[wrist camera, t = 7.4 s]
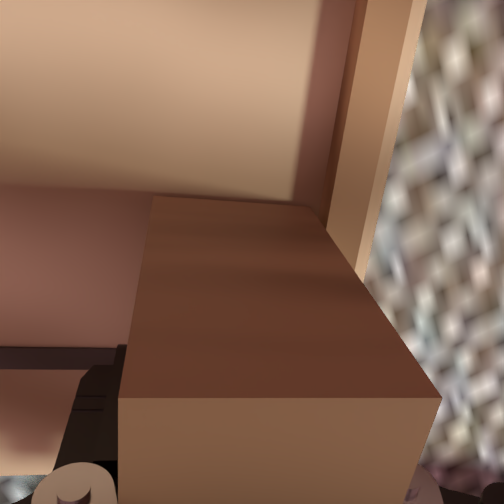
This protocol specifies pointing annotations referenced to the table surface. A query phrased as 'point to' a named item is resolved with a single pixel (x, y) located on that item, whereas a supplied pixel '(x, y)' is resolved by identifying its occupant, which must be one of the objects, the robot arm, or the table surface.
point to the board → (169, 158)
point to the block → (262, 367)
